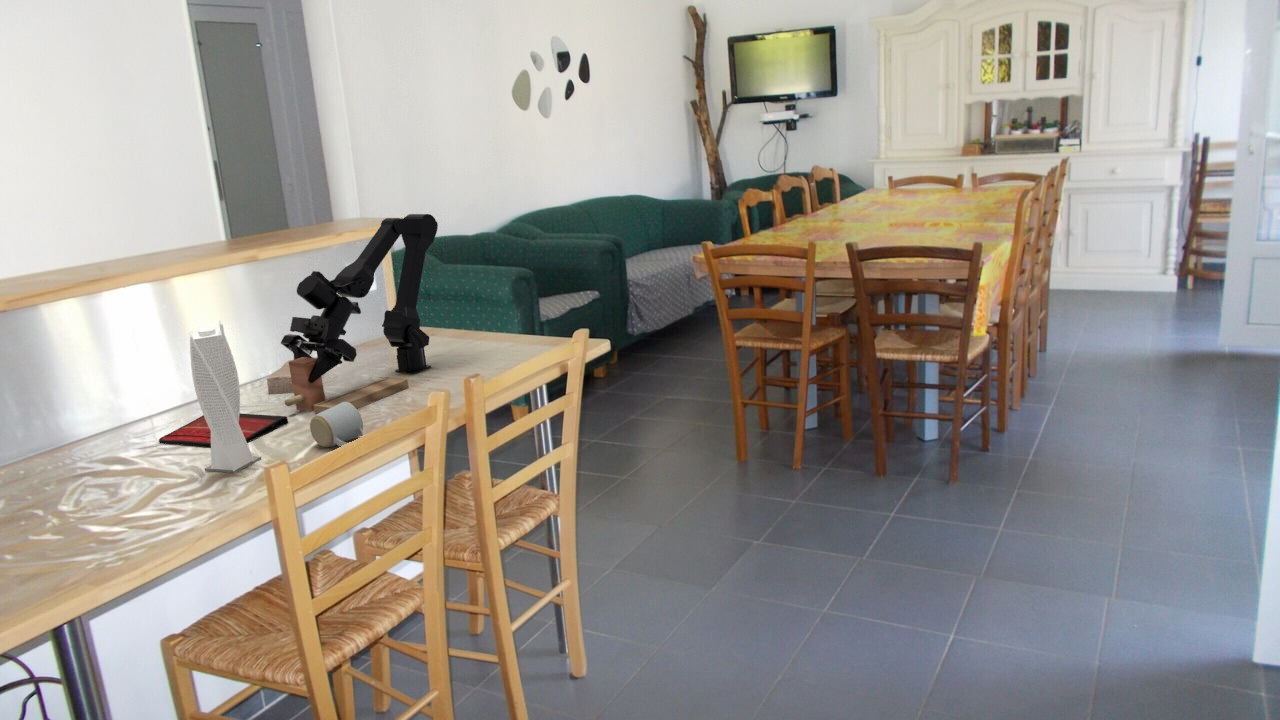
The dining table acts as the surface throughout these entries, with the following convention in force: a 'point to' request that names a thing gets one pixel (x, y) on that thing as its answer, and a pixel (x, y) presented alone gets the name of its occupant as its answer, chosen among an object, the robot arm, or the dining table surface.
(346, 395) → the board
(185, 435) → the binder
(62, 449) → the dining table surface
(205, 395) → the skyscraper
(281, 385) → the brick
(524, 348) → the dining table surface
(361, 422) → the ceramic mug
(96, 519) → the dining table surface
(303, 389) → the wooden block with peg
